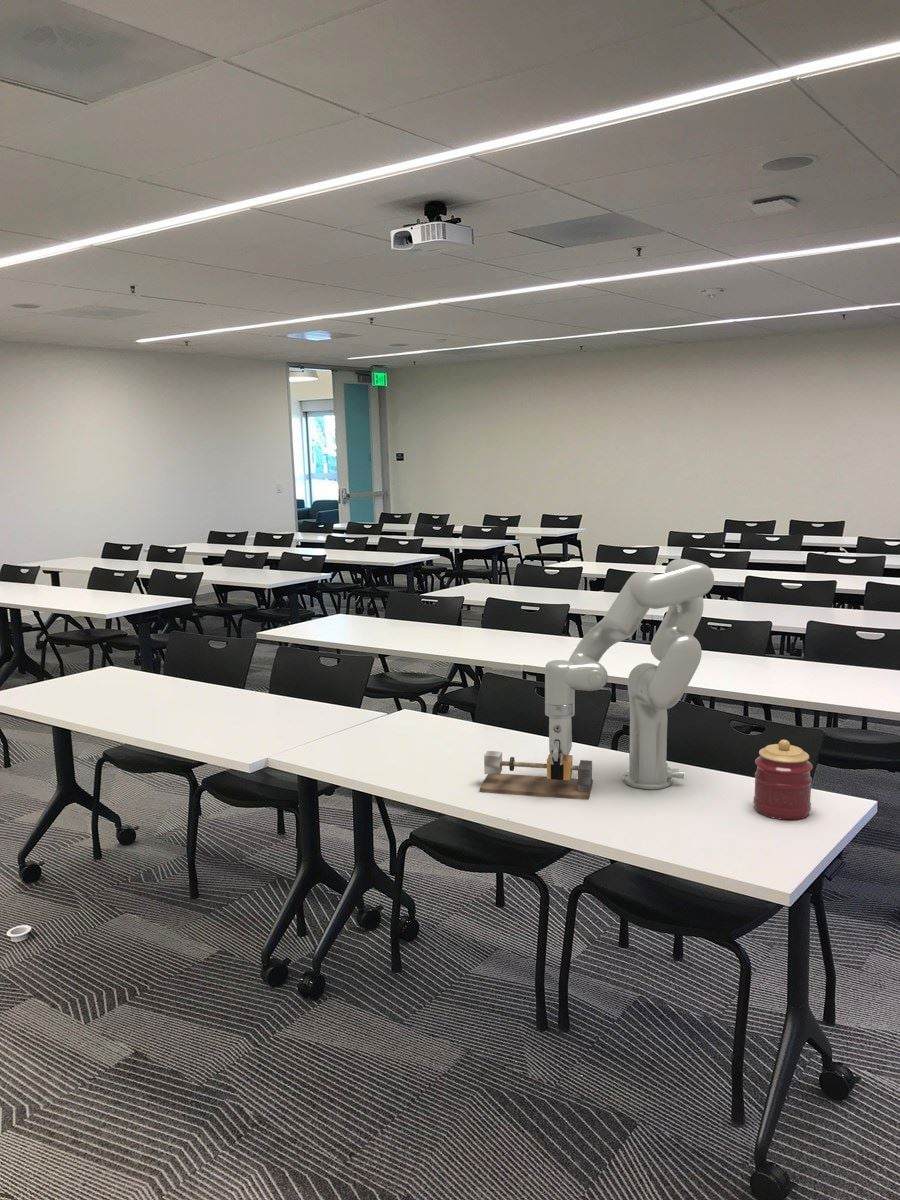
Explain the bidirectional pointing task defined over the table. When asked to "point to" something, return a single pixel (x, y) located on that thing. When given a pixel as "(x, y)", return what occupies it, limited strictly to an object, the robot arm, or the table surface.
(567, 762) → the sleeve
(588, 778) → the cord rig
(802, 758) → the canister
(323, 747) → the table surface
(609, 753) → the table surface
